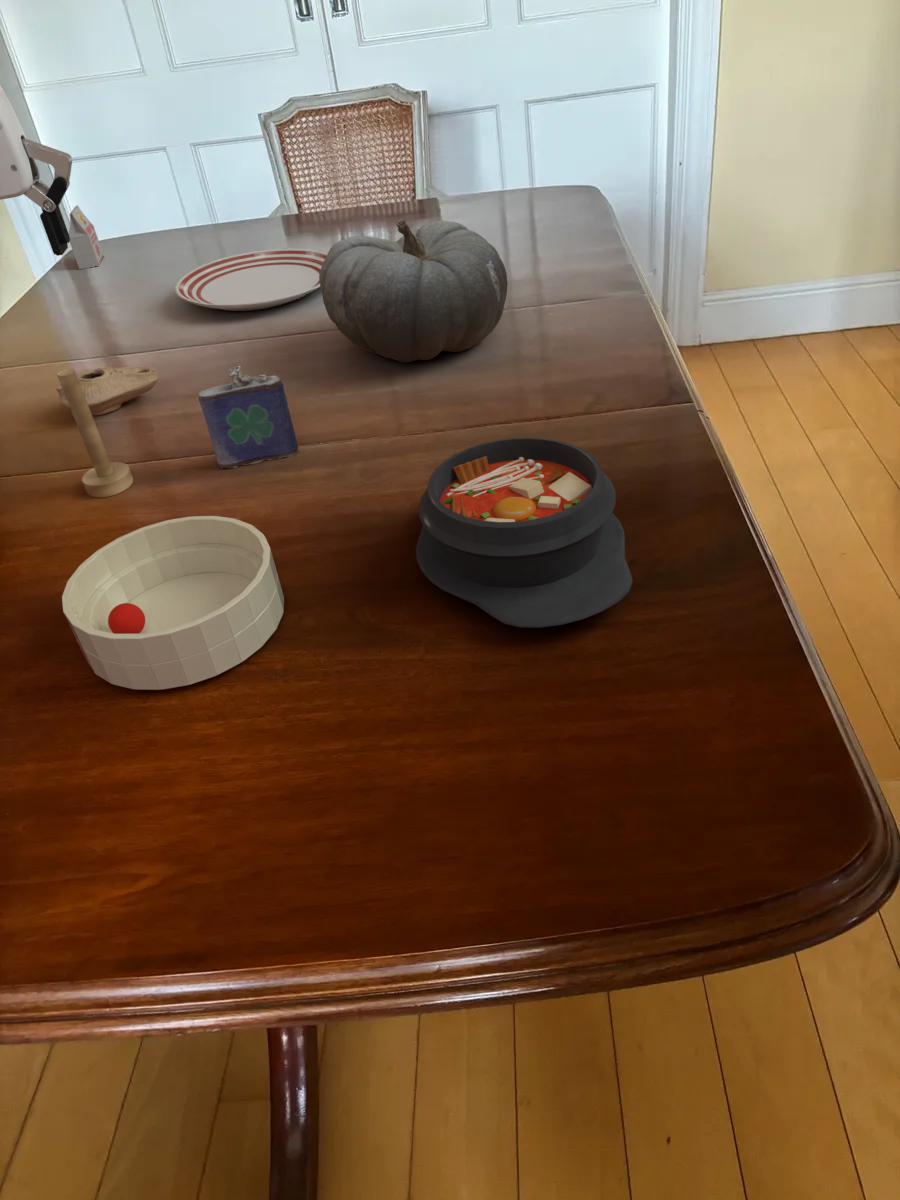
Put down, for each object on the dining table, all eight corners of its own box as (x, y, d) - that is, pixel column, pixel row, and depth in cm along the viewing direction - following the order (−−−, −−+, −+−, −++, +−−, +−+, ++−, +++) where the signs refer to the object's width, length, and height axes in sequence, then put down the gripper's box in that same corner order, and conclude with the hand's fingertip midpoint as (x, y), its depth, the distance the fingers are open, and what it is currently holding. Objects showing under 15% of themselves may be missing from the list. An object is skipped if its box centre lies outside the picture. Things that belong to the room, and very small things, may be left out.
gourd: (285, 338, 124) (282, 204, 114) (415, 310, 139) (422, 189, 129) (409, 397, 110) (418, 251, 100) (538, 358, 126) (556, 228, 116)
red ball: (116, 598, 75) (151, 601, 77) (102, 605, 77) (136, 607, 79) (116, 634, 74) (151, 636, 76) (102, 639, 76) (136, 641, 78)
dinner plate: (361, 261, 158) (358, 241, 156) (316, 319, 137) (312, 297, 135) (217, 269, 163) (212, 250, 161) (152, 326, 142) (146, 306, 140)
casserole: (383, 520, 89) (369, 445, 84) (554, 471, 93) (550, 396, 87) (475, 673, 69) (464, 587, 64) (685, 603, 73) (691, 517, 68)
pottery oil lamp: (167, 403, 116) (132, 369, 110) (91, 445, 118) (52, 414, 112) (159, 359, 121) (124, 323, 115) (85, 400, 123) (48, 367, 117)
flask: (218, 471, 101) (192, 382, 94) (218, 459, 103) (192, 371, 97) (300, 455, 102) (279, 365, 95) (298, 444, 104) (277, 356, 98)
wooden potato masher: (79, 499, 99) (31, 384, 91) (96, 475, 103) (52, 364, 95) (124, 496, 99) (79, 380, 90) (139, 472, 103) (98, 359, 95)
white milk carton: (79, 269, 174) (60, 215, 168) (85, 259, 179) (67, 206, 173) (98, 266, 174) (80, 212, 168) (104, 256, 179) (86, 203, 173)
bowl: (69, 711, 71) (39, 654, 68) (107, 585, 85) (84, 533, 81) (283, 675, 72) (266, 617, 68) (287, 556, 85) (272, 502, 82)
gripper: (-183, 81, 76) (-87, 284, 86) (22, 52, 76) (92, 256, 87) (-147, 70, 82) (-62, 261, 92) (42, 43, 82) (106, 236, 93)
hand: (13, 259), depth 89 cm, fingers open, 9 cm apart
